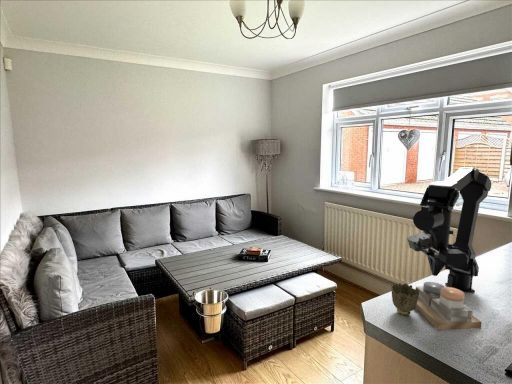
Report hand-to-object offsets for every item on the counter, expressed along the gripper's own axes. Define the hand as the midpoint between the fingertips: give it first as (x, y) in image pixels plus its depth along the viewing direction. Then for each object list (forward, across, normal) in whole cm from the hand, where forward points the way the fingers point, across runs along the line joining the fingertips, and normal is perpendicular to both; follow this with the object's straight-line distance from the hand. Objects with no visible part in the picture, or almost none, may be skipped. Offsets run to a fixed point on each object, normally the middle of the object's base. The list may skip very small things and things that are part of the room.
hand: (434, 275), depth 93 cm
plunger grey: (+8, 0, 0) cm, 8 cm away
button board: (+10, +4, 0) cm, 11 cm away
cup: (+10, +3, -11) cm, 15 cm away
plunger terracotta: (+6, +8, 0) cm, 10 cm away
